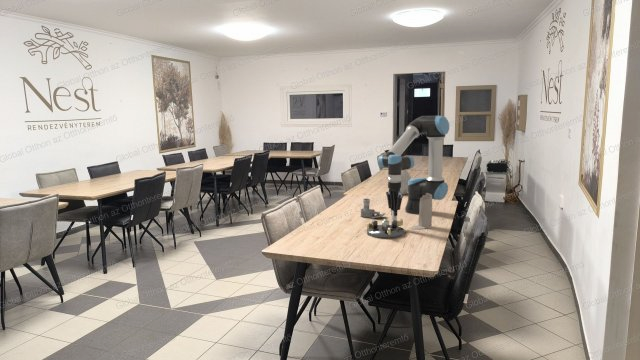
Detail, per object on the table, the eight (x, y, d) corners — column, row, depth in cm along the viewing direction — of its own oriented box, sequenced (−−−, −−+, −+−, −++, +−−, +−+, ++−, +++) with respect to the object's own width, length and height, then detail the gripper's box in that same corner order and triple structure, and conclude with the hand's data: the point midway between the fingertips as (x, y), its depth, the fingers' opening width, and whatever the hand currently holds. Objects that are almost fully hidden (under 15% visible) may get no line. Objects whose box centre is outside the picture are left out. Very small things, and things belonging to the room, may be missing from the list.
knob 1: (374, 226, 244) (374, 219, 243) (378, 227, 241) (378, 220, 240) (365, 229, 238) (365, 222, 238) (369, 230, 236) (369, 223, 235)
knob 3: (393, 228, 239) (394, 221, 238) (390, 227, 242) (390, 219, 241) (404, 226, 243) (404, 219, 242) (400, 225, 246) (400, 217, 245)
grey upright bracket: (407, 227, 249) (407, 194, 246) (426, 224, 254) (427, 192, 251) (414, 230, 243) (414, 196, 239) (434, 227, 248) (434, 194, 245)
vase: (388, 192, 354) (389, 166, 351) (407, 191, 356) (408, 165, 352) (394, 196, 338) (394, 168, 335) (413, 195, 340) (414, 168, 337)
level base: (400, 227, 249) (400, 214, 248) (407, 238, 228) (408, 223, 227) (364, 228, 249) (364, 215, 247) (369, 239, 228) (369, 224, 227)
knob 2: (384, 231, 233) (384, 224, 233) (389, 231, 233) (389, 224, 233) (386, 235, 226) (386, 228, 225) (392, 235, 226) (392, 227, 225)
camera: (364, 197, 279) (385, 199, 272) (364, 214, 281) (385, 217, 274) (359, 200, 271) (381, 202, 265) (359, 217, 274) (381, 220, 267)
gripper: (382, 180, 247) (382, 219, 251) (397, 183, 236) (396, 224, 240) (392, 179, 251) (391, 217, 254) (407, 182, 239) (406, 222, 243)
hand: (394, 220), depth 247 cm, fingers closed
